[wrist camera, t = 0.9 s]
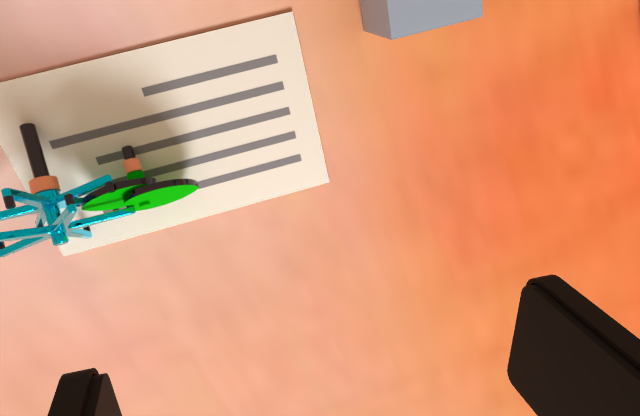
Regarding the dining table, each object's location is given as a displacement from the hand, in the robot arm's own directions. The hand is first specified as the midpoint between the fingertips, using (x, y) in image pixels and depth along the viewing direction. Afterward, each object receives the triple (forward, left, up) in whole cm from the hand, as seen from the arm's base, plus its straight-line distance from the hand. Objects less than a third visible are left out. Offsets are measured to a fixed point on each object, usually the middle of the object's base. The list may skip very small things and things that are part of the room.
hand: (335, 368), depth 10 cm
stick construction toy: (+10, 0, -21) cm, 23 cm away
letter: (+5, 0, -21) cm, 22 cm away
